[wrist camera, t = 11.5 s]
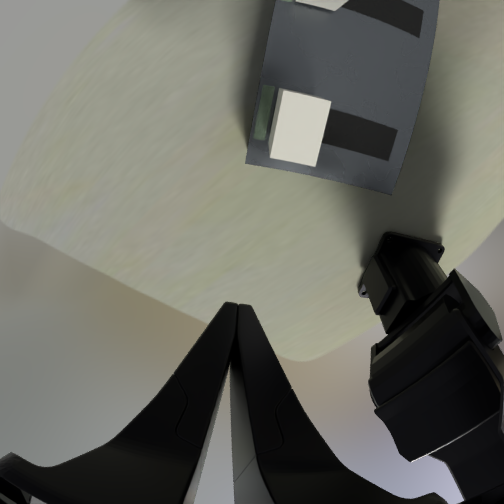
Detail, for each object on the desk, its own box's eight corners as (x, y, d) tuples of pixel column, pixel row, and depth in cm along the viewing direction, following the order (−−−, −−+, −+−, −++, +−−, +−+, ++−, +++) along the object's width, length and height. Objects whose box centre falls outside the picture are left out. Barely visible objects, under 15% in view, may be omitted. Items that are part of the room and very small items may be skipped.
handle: (317, 96, 13) (331, 101, 10) (305, 149, 15) (315, 166, 12) (279, 87, 13) (283, 90, 10) (268, 142, 14) (269, 157, 12)
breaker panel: (417, 0, 11) (440, -7, 8) (375, 178, 19) (391, 195, 16) (285, -44, 10) (289, -62, 8) (247, 150, 18) (245, 163, 16)
